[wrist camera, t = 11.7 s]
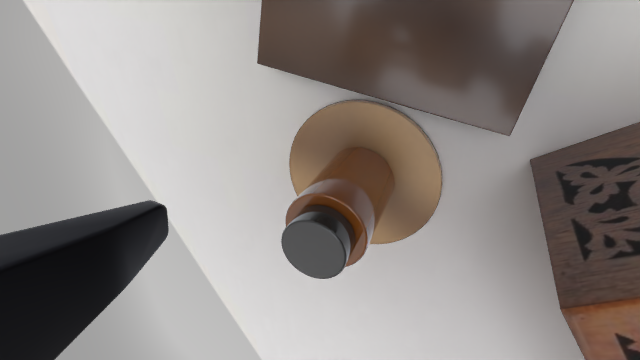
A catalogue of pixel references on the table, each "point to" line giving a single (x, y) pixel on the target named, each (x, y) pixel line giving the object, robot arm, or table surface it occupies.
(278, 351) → the table surface
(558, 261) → the tissue box cover
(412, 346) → the table surface
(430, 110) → the spice shelf
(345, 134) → the cork coaster
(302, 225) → the spice bottle
